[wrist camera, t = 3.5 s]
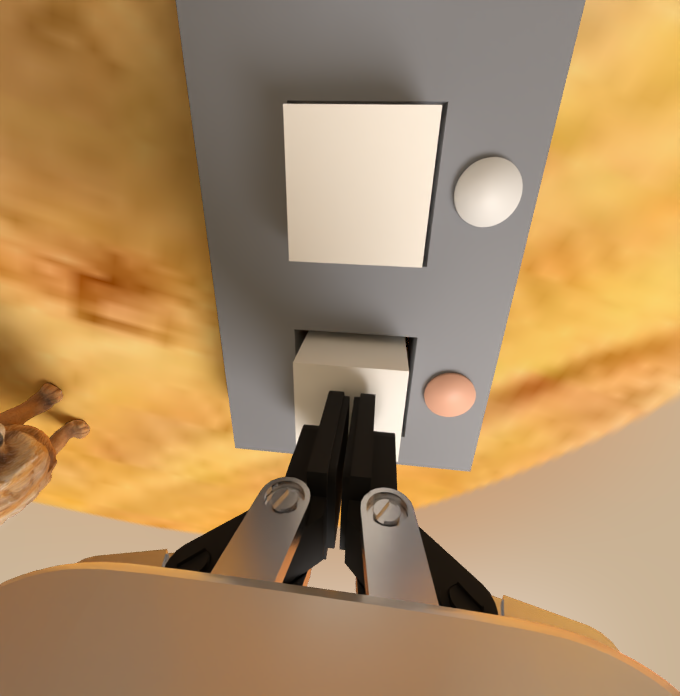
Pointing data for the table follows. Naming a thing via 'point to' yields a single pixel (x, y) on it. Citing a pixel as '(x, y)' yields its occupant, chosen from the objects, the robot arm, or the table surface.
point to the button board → (445, 205)
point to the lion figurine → (30, 450)
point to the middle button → (359, 182)
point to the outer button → (351, 376)
